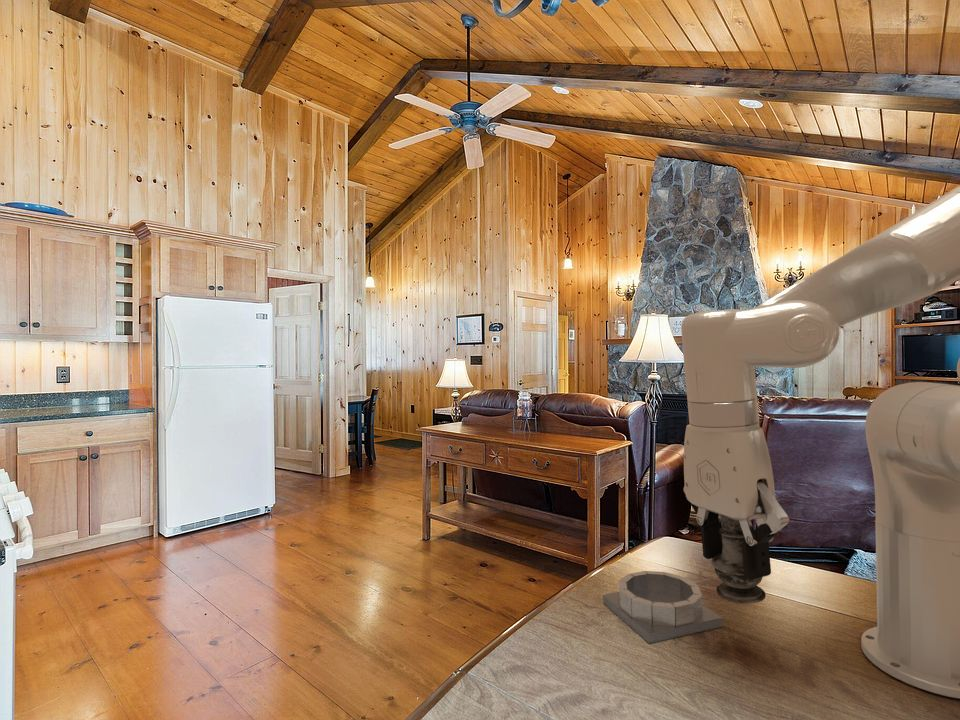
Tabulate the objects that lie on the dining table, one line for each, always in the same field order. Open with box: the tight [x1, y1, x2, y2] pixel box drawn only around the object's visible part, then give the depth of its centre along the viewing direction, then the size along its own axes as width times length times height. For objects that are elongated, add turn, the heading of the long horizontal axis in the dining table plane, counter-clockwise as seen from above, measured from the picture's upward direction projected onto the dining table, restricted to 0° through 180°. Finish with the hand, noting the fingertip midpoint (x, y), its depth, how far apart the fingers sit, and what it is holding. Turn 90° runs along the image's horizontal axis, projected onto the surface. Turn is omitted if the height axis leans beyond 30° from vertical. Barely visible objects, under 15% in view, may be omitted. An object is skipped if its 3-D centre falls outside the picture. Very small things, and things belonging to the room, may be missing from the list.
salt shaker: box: [710, 515, 767, 605], centre depth 62 cm, size 6×6×12 cm
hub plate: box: [602, 570, 723, 644], centre depth 72 cm, size 11×11×4 cm
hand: (735, 564), depth 62 cm, fingers closed on salt shaker, 5 cm apart
